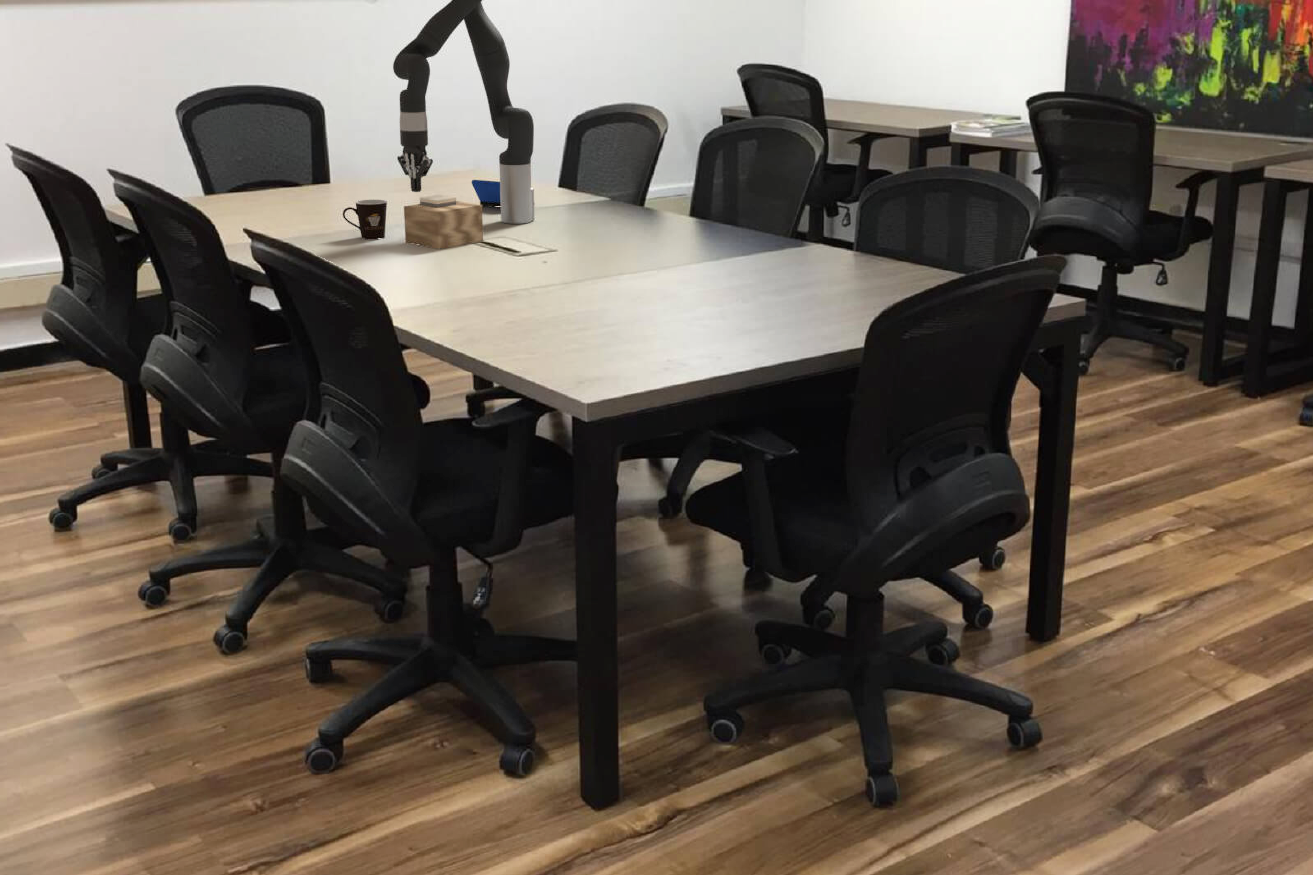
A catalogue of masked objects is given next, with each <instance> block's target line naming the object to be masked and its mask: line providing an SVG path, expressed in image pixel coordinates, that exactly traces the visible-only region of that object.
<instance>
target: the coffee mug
mask: <svg viewBox="0 0 1313 875" xmlns="http://www.w3.org/2000/svg"><path fill="white" fill-rule="evenodd" d="M387 206H388V201H387V200H385V199H362V200H357V201H355V207H356V208H355V207H352V206H351V207H349V206H348V207H346V208H344V209H343V212H342V217H343V219H344V220H345V221H346V222H347V223H348V224H350V225H352V226H353V227H356V228H357V229H359V231H360V235H361V239H362V238H365V239H364V240H368V239H375V240H379V239H378V238H383V239H384V238H386V220H387ZM349 210H351V211H353V212H354V213H355V214H356V215H357V219H358V225H359V226H358V225H357V224H355V223H354V222H351V221H350V220H348V218H347V217H346V215H345V214H346V212H347V211H349Z"/></svg>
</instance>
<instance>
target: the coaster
mask: <svg viewBox="0 0 1313 875" xmlns="http://www.w3.org/2000/svg"><path fill="white" fill-rule="evenodd" d="M456 201H457V197H455V196H449V195H443V194H437V195H430V196H423V197H422V196H421V197H419V204H420V205H423V206H429V207H435V208H439V207H445V206H452V205H456Z"/></svg>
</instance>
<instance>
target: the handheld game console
mask: <svg viewBox="0 0 1313 875" xmlns="http://www.w3.org/2000/svg"><path fill="white" fill-rule="evenodd" d="M471 185H472V187H473V189H474V192H475V193H476V197H477V198H478V200H479V205H483V206H482V207H486V206H501V200H500V181H495V180H484V179H483V180H482V179H472V180H471ZM534 205H535V202H534Z"/></svg>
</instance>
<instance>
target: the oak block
mask: <svg viewBox="0 0 1313 875" xmlns="http://www.w3.org/2000/svg"><path fill="white" fill-rule="evenodd" d="M403 215H404V216H403V217H404V233H405V234H404V237H405V243H406V244H410V243H414V244H413V245H416V244H419V245H418V246H421V245H422V247H426V246H427V248H432V249H436V248H438V250H440V248H442V249H447V248H452V247H458V246H463V244H464V245H468V244H467V243H469V244H474V243H480V242H484V228H483V227H484V225H483V222H484V221H483V206H482V205H480V203H479V204H477V203H473V202H472V203H471V202H464V201H460V200H456V205H452V206H445V207H439V208H435V207H429V206H423V205H420V203H418V204H417V203H415V204H411V205H404V206H403Z"/></svg>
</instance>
